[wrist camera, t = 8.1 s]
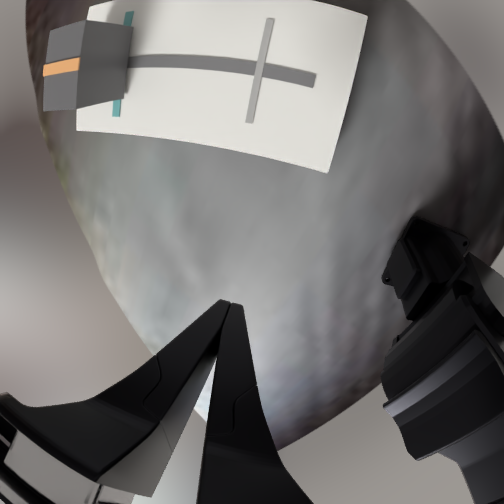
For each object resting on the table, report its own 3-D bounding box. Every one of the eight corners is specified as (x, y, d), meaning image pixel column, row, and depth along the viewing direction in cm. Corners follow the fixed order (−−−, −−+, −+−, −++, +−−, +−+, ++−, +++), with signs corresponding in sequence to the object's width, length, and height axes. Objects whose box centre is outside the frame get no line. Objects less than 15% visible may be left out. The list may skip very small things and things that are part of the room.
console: (358, 26, 12) (368, 15, 9) (324, 160, 18) (327, 173, 15) (113, 11, 13) (88, 6, 10) (100, 122, 18) (75, 131, 16)
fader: (134, 27, 11) (85, 19, 7) (124, 98, 14) (75, 109, 10) (97, 32, 11) (48, 31, 8) (90, 99, 14) (41, 111, 11)
